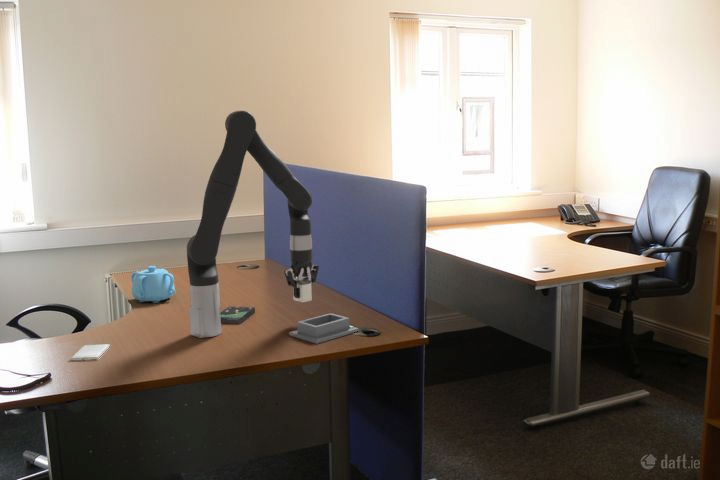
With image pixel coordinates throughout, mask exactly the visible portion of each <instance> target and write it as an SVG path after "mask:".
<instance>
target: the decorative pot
mask: <svg viewBox="0 0 720 480" xmlns="http://www.w3.org/2000/svg"><path fill="white" fill-rule="evenodd" d="M131 282H132V286H131V295H132V297H133V298H134V299H135V300H137V301H138V302H139V303H145V302H152V303H153V304H159V303H161V301H164V300H168V299H170V298H171V297H173V295H175V294H176V292H177V291H176V288H175V277H174V275H173V274H172V273H170V272H169V271H168V270H167V269H165V268H157V266H155V265H150V266H149V265H148V266H147V269H143V270H141V271H138V270H137V271H134V272H132V274H131Z"/></svg>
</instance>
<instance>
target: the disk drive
mask: <svg viewBox="0 0 720 480" xmlns="http://www.w3.org/2000/svg"><path fill="white" fill-rule="evenodd" d="M254 314H256V307H255V306H239V307H235V306H227V307H226V308H225V309H224V310H222V311H220V315H221V324H238V325H239V324H240V325H241V324H243V323H244V322H246V320H248V319H250V317H252V316H253V315H254Z"/></svg>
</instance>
